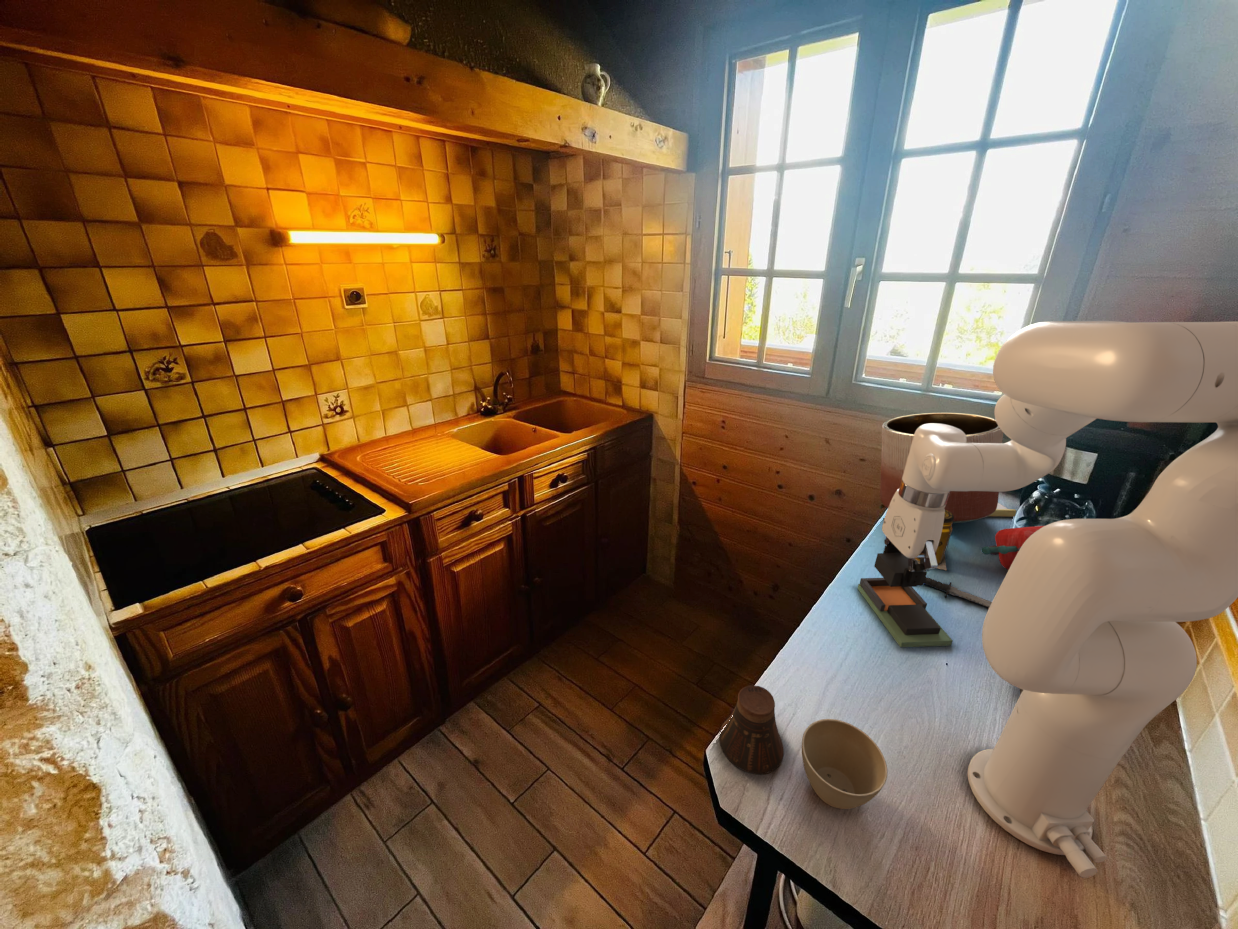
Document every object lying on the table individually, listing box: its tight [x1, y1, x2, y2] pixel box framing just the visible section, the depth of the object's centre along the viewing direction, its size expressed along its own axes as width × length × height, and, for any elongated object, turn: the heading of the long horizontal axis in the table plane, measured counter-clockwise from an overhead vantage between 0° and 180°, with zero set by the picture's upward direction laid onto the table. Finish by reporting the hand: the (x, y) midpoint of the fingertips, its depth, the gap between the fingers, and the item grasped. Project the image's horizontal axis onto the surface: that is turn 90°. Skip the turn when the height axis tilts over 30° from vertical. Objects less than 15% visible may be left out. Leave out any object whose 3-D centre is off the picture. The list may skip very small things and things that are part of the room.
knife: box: [923, 576, 992, 608], centre depth 98 cm, size 19×2×5 cm
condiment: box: [915, 510, 954, 571], centre depth 108 cm, size 7×8×12 cm
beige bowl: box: [801, 718, 888, 810], centre depth 63 cm, size 10×10×7 cm
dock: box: [857, 577, 953, 648], centre depth 94 cm, size 16×9×3 cm, turn 2°
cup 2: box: [718, 685, 785, 775], centre depth 68 cm, size 9×9×10 cm
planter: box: [879, 412, 1004, 524], centre depth 124 cm, size 25×25×22 cm
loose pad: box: [874, 552, 928, 587], centre depth 94 cm, size 6×6×3 cm
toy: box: [980, 525, 1045, 571], centre depth 104 cm, size 17×10×20 cm
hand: (898, 573), depth 94 cm, fingers closed on loose pad, 6 cm apart
